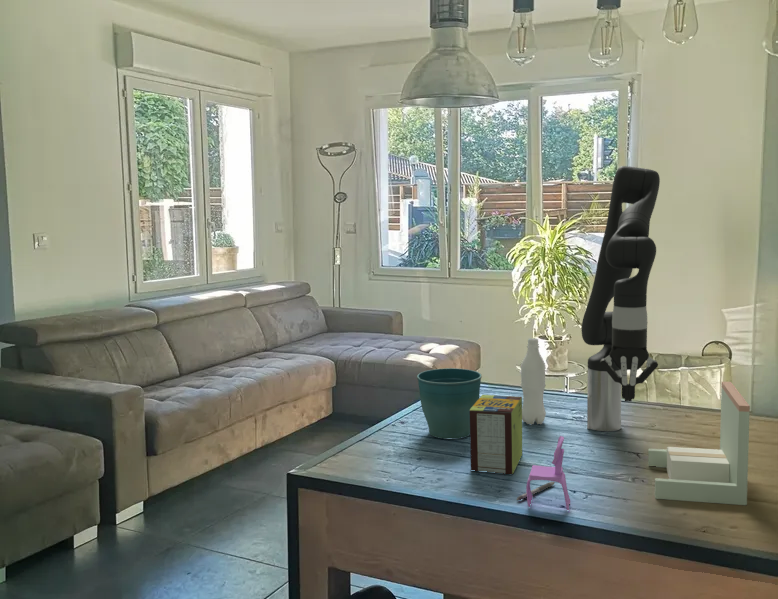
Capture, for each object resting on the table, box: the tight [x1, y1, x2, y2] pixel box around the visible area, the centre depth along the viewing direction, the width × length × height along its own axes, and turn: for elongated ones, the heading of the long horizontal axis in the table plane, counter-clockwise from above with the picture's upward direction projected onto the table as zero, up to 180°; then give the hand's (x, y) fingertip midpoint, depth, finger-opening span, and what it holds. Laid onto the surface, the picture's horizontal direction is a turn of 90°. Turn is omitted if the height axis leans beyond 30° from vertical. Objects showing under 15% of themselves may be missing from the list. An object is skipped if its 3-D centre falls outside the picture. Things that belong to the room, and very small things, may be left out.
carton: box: [666, 446, 729, 483], centre depth 169 cm, size 12×10×6 cm
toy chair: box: [525, 435, 571, 511], centre depth 156 cm, size 8×9×15 cm
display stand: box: [647, 381, 751, 506], centre depth 165 cm, size 18×22×21 cm
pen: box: [516, 481, 556, 501], centre depth 163 cm, size 1×14×1 cm, turn 133°
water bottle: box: [520, 338, 547, 426], centre depth 216 cm, size 7×7×25 cm
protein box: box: [469, 394, 523, 475], centre depth 182 cm, size 10×15×16 cm
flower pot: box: [416, 367, 483, 439], centre depth 208 cm, size 18×18×17 cm
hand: (628, 400), depth 168 cm, fingers closed
